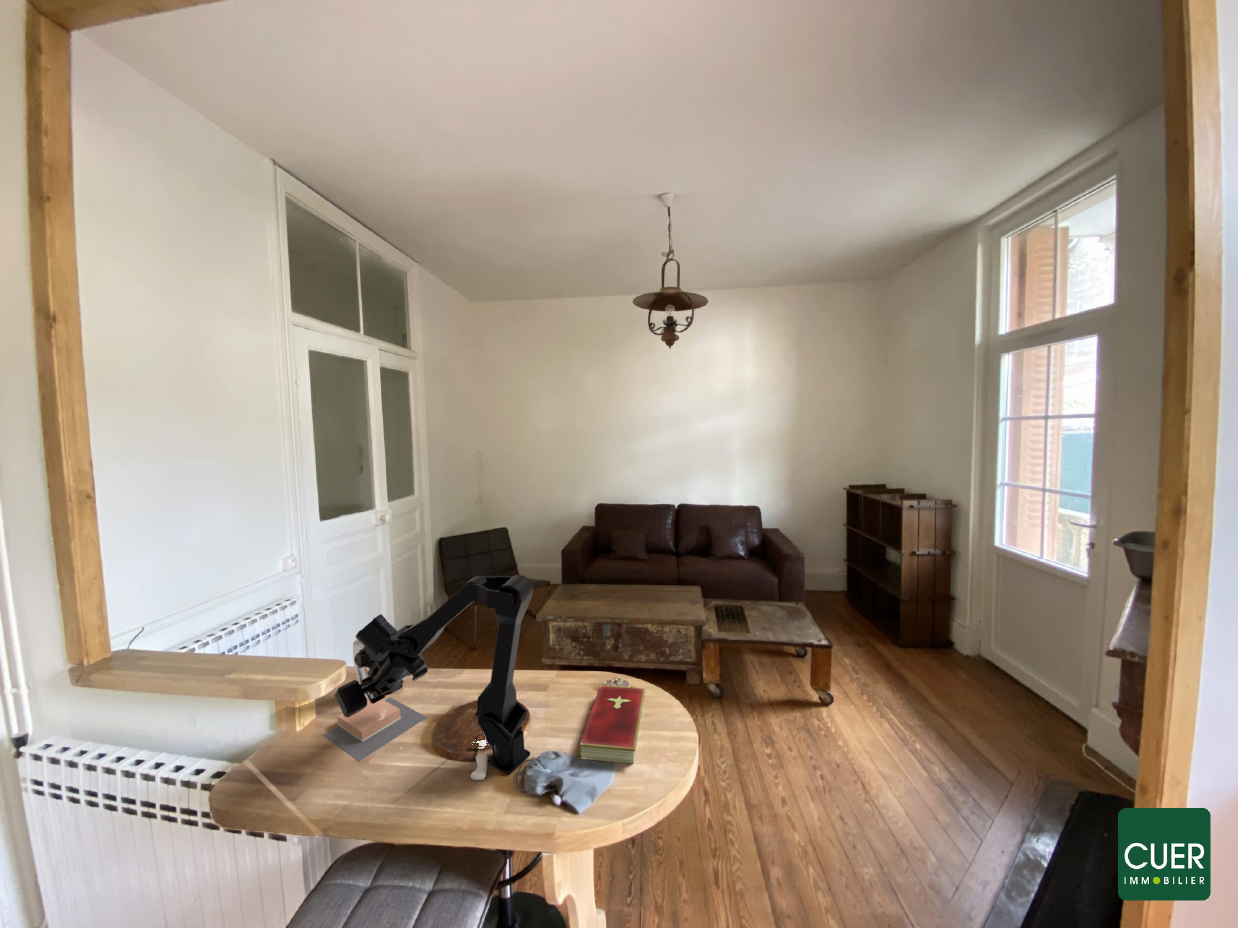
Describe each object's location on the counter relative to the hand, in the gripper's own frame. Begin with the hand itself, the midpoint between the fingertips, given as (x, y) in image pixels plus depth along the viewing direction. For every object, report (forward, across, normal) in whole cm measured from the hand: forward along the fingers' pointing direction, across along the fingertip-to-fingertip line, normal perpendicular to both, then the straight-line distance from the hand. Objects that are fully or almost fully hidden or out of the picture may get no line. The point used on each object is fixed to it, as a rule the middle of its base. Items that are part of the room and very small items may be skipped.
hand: (372, 697), depth 103 cm
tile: (+2, 0, +6) cm, 6 cm away
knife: (-10, -10, +21) cm, 26 cm away
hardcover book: (-29, -28, +41) cm, 58 cm away
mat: (+5, 0, +6) cm, 8 cm away
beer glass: (+16, -7, -5) cm, 18 cm away
